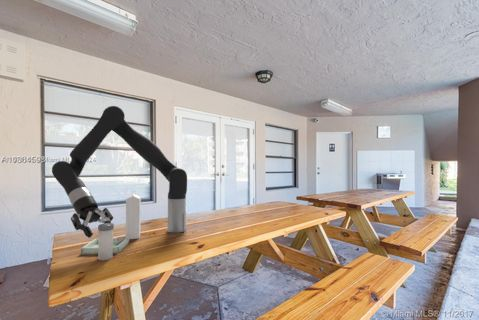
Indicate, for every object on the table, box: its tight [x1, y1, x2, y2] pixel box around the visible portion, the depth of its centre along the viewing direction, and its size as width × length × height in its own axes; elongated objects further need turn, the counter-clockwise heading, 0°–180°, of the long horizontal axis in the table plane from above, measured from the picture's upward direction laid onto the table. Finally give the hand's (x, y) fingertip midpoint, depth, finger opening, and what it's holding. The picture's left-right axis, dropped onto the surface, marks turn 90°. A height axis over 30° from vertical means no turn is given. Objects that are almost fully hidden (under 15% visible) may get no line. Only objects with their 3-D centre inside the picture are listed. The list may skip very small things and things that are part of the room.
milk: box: [125, 191, 142, 240], centre depth 118 cm, size 6×6×22 cm
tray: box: [80, 237, 130, 256], centre depth 102 cm, size 14×12×2 cm
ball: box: [115, 236, 123, 245], centre depth 105 cm, size 3×3×3 cm
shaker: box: [97, 222, 115, 261], centre depth 92 cm, size 5×5×12 cm
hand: (101, 233), depth 93 cm, fingers open, 8 cm apart
